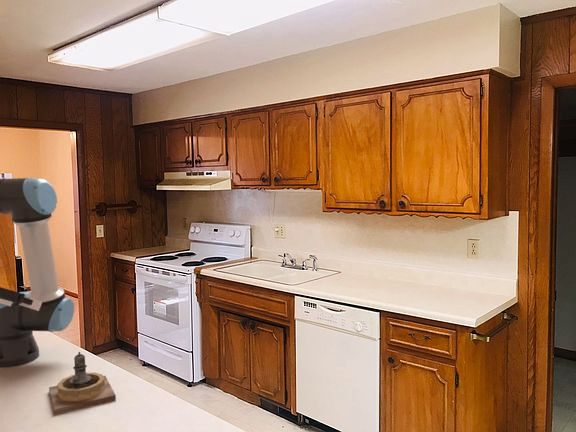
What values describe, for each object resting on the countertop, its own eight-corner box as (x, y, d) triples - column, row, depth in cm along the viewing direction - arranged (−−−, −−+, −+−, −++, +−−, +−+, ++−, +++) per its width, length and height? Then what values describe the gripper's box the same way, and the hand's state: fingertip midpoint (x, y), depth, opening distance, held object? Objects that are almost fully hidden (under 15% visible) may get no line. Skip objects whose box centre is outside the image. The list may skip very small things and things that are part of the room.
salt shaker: (83, 396, 138) (81, 356, 137) (65, 394, 139) (63, 354, 138) (96, 387, 144) (94, 348, 142) (78, 386, 145) (76, 347, 144)
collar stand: (49, 392, 144) (48, 377, 144) (105, 380, 152) (104, 366, 152) (54, 414, 131) (53, 398, 130) (115, 400, 139) (115, 385, 138)
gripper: (-80, 289, 126) (-5, 312, 143) (-29, 297, 114) (46, 321, 130) (-65, 263, 129) (6, 288, 146) (-15, 268, 117) (57, 294, 133)
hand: (25, 303), depth 138 cm, fingers open, 13 cm apart
